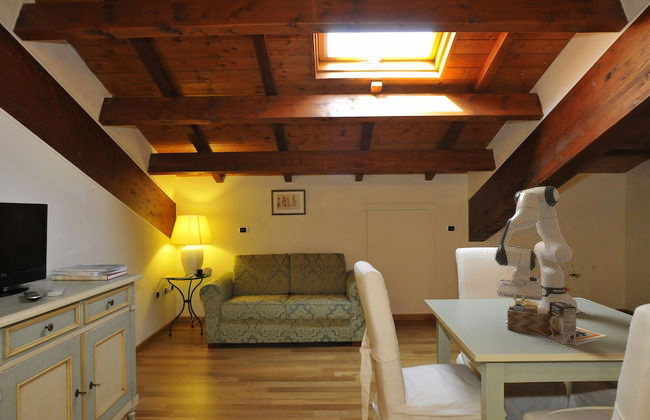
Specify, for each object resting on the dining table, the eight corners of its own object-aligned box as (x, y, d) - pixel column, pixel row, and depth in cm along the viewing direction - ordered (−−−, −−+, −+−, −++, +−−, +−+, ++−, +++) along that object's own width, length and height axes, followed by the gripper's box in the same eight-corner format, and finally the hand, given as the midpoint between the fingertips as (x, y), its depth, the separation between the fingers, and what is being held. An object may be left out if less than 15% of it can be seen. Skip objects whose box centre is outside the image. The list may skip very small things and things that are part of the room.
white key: (537, 316, 185) (537, 309, 185) (537, 314, 189) (537, 307, 189) (547, 318, 182) (547, 310, 182) (548, 315, 186) (548, 308, 186)
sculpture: (519, 322, 200) (519, 301, 200) (507, 316, 212) (506, 296, 212) (541, 322, 200) (541, 301, 200) (527, 315, 212) (527, 295, 212)
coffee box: (548, 337, 177) (548, 301, 176) (562, 337, 177) (562, 301, 177) (562, 344, 167) (562, 306, 167) (576, 344, 168) (576, 306, 168)
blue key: (513, 313, 190) (513, 306, 190) (514, 311, 194) (514, 304, 194) (523, 315, 188) (523, 307, 188) (524, 312, 191) (524, 305, 191)
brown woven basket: (507, 329, 189) (507, 310, 189) (509, 324, 197) (509, 306, 197) (553, 335, 179) (553, 316, 179) (553, 330, 188) (553, 311, 188)
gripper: (497, 275, 202) (494, 298, 194) (542, 279, 192) (542, 303, 183) (498, 283, 206) (495, 305, 198) (543, 287, 196) (542, 311, 187)
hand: (518, 304), depth 191 cm, fingers closed, pressing on blue key
